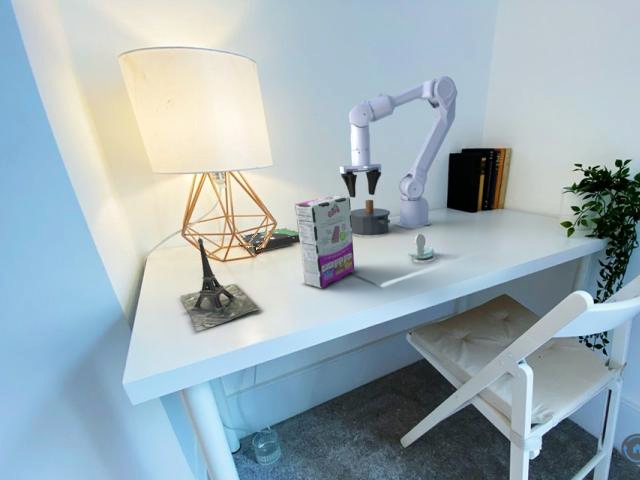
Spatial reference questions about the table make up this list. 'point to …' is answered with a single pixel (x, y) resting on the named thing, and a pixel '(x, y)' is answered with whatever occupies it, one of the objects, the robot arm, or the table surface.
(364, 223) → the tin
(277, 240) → the disk drive
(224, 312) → the eiffel tower figurine
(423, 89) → the robot arm
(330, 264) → the candy bar box
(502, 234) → the table surface
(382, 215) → the lid
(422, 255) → the pacifier
